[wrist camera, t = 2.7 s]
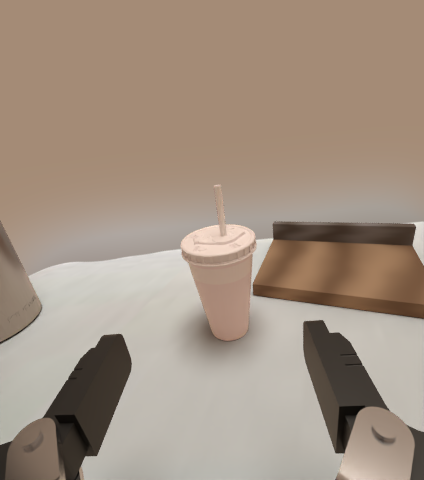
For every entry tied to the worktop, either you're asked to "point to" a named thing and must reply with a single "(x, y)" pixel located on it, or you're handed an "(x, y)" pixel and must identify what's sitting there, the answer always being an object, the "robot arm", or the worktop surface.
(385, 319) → the worktop surface
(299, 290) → the shelf board
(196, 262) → the smoothie
